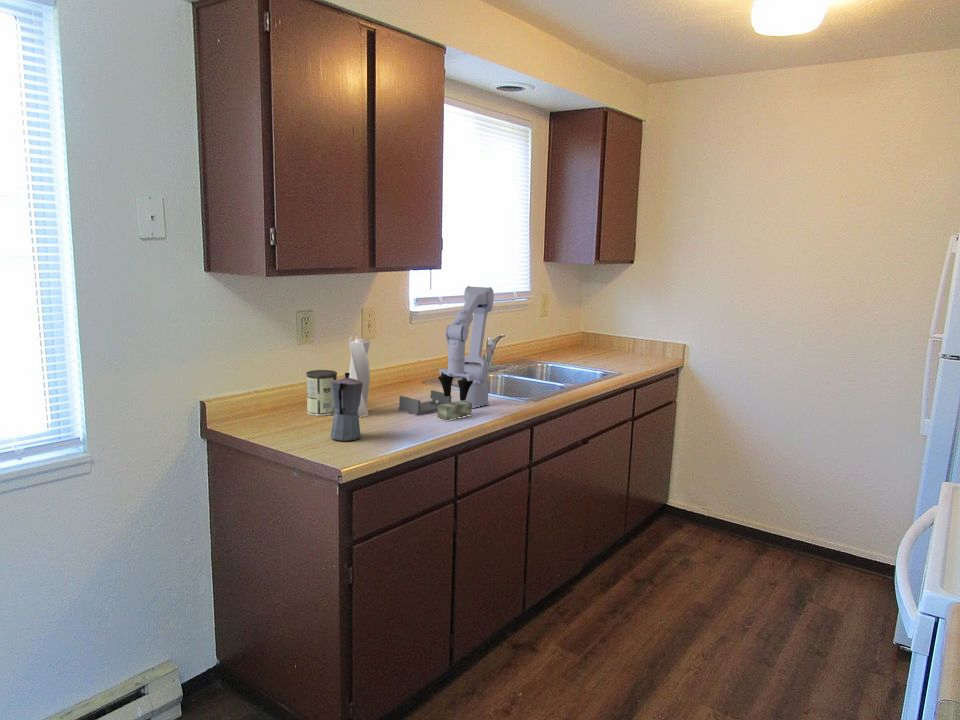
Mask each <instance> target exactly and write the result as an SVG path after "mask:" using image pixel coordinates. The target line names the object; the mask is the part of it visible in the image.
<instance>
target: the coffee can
mask: <svg viewBox="0 0 960 720" xmlns="http://www.w3.org/2000/svg"><path fill="white" fill-rule="evenodd" d="M305 375H306V406H307V407H306V414H307V413H308V415H309V414H310V416H314V415H315V417H325V416H326V415H328V416H332V415H333V416H334V414H335V412H334V405H333V396H332V387H331V381H333V380H337V378H338V377H337V375H338V372H337V371H335V370H332V369H330V370H328V369H317V370H309V371H307V372H305Z"/></svg>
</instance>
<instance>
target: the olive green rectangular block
mask: <svg viewBox="0 0 960 720" xmlns="http://www.w3.org/2000/svg"><path fill="white" fill-rule="evenodd" d="M472 410H473V409H472V403H471V402H468V401H464V400H463V401H461V400H458V401H453V402H452V401H451V403H446V404H441V405H438V411H437V416H436V417H437V418H440V419H443V420H450V419H454V418H458V417H463V416H467V415H472V416H473V414H472ZM437 418H436V419H437ZM443 420H442V421H443Z"/></svg>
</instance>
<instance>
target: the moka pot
mask: <svg viewBox="0 0 960 720" xmlns="http://www.w3.org/2000/svg"><path fill="white" fill-rule="evenodd" d="M349 375H350V373H349V372H344V378H343V377H342V378H338V379H337V380H333V381H331V387H332V396H333V405H334V412H335V414H333V418H332V426H331V431H330V436H329V437H330V438H331V439H333V440H336V441H341V442H343V441H344V442H345V441H346V442H347V441H356V440H359V439H360V438H361V428H360V418H359V416H358V407H359V406H360V399H361V392H362V385H363V383H362V382H361V381H360V380H356V379H351V378H349Z"/></svg>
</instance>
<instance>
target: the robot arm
mask: <svg viewBox="0 0 960 720" xmlns="http://www.w3.org/2000/svg"><path fill="white" fill-rule="evenodd" d="M463 294H464V295H463V296H464V297H463V298H464V305H463V308H462V309H461V310H458V312H457V313H456V315H455V318H454V319H453V321H452V323H450V324H448V325H447V327H446V329H445V330H446V331H445V338H446V346H447V347H448V348H447V368H439V369H438V374H439V376H438V380H439V382H440V384H441V387H442V390H443V393H444V395H445V397H447V396H450V395H452V385H453V380H454V378H455V379H456V378H457V379H459V380H457V385H458V389H459V401H463V400H464V401H468V402H471V403H472V408H474V409H477V408H476V407H478V408H481V407H480V406H483V407H485V406H484V405H487V406H489V405H488V404H489V386H488V383H487V382H486V381H487V379H488V374H489V371H488V370H489V369H488V368H489V367H488V365H489V363H488V362H487V359H485V358H484V357H483V356H482V354H483V347H484V339H485V332H486V331H485V330H486V326H487V325H486V324H487V318H488V314H489V313H490V312H492V310H493V306H494V300H495V299H494V298H495V296H494V295H495V294H494V290H493V288H492V287H491V286H490V287H483V286H470V285H468V286H466V287H465V289H464V292H463ZM471 324H472V326H471ZM470 327H471V333H470ZM469 333H470V341H469V349H468V354H467V355H465V354H466V341H467V340H468V339H469Z"/></svg>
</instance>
